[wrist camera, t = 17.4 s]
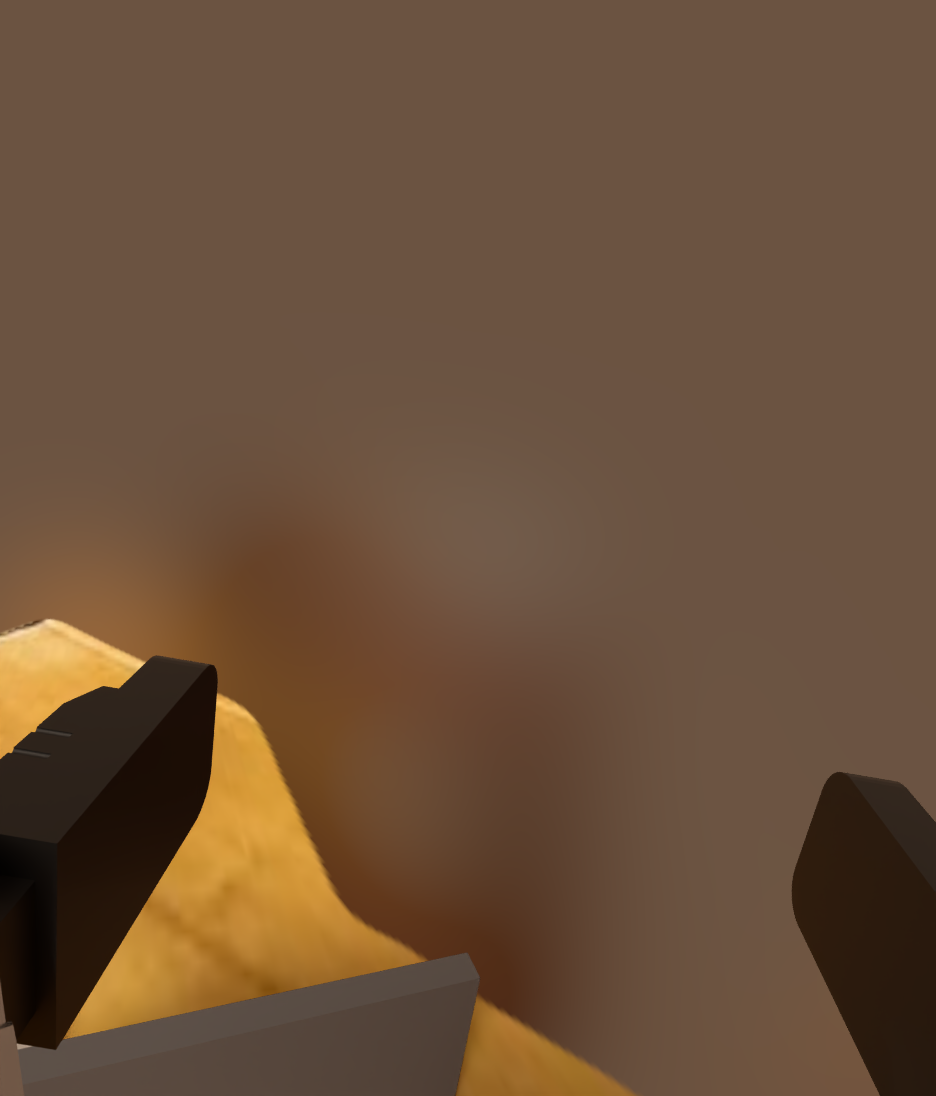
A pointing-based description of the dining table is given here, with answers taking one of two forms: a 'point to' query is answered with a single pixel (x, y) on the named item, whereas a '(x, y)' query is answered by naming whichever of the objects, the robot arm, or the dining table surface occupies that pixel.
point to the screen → (283, 1043)
